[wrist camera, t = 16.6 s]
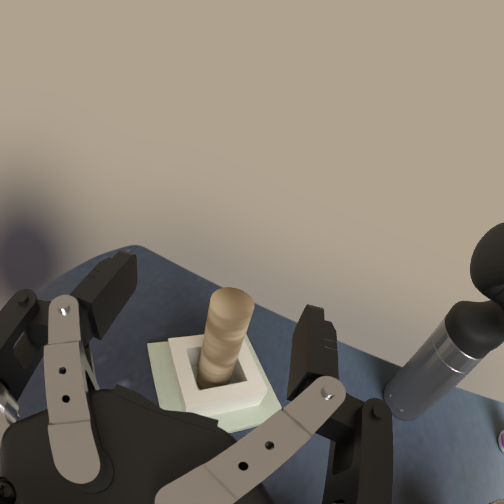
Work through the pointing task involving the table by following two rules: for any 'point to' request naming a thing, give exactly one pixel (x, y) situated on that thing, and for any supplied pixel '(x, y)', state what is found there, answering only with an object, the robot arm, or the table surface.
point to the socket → (218, 398)
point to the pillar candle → (498, 501)
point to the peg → (223, 336)
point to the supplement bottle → (501, 440)
